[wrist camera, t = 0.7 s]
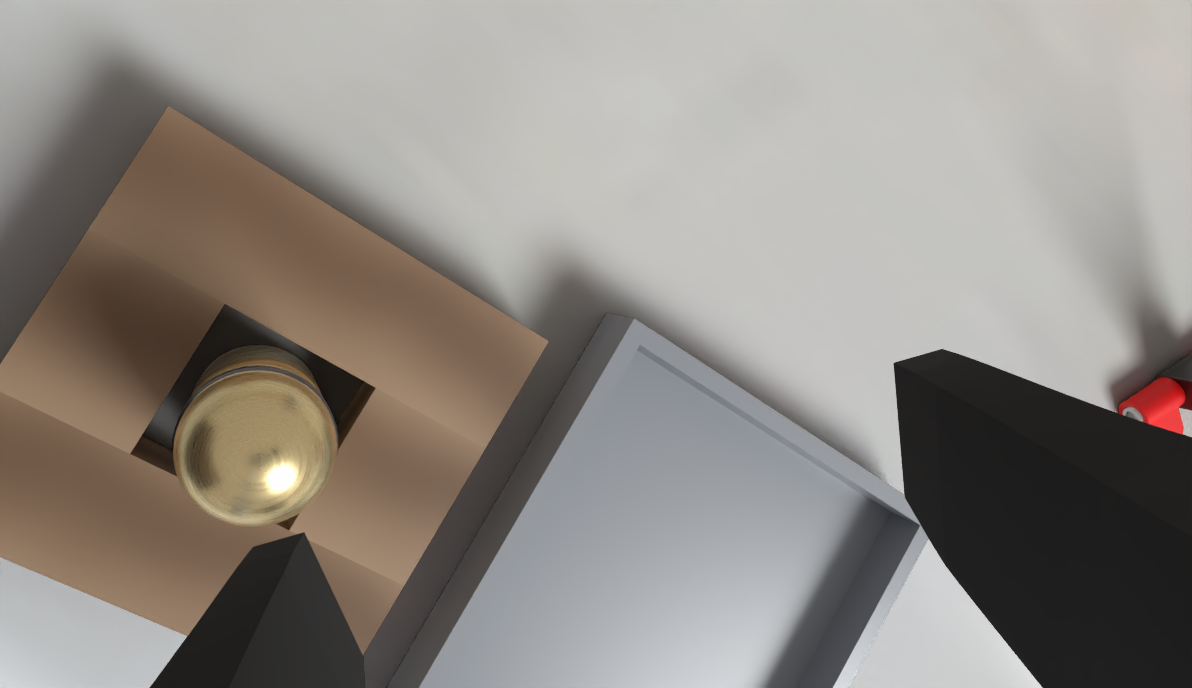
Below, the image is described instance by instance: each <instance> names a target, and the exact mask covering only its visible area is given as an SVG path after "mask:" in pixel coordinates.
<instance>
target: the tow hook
mask: <svg viewBox="0 0 1192 688" xmlns="http://www.w3.org/2000/svg"><path fill="white" fill-rule="evenodd" d="M1179 408H1183V409H1188V410H1192V354H1189V355H1188V356H1186V357H1185V358H1184V359H1182V360H1181V361H1179V362H1178V363H1176V364H1175V365H1173V366H1172V367H1170V368H1169V369H1167V370H1166V371H1164V372H1163V373H1161V374H1160V375H1158V376H1157V377H1156V379H1155V381H1154V382H1152V383H1151V384H1149V385H1148V386H1146V387H1145V388H1144V389H1142V390H1141V391H1139V392H1138V393H1136V394H1135V395H1133V396H1132V397H1130V398H1129V399H1127V400H1126V401H1124V402H1123V403H1121V404H1120V405H1119V408H1118V411H1119V414H1121V415H1124V416H1127V417H1130V418H1133V419H1136V420H1139V421H1142V422H1145V423H1147V424H1151V425H1154V426H1157V427H1160V428H1163V429H1167V430H1170V431H1173V432H1176V433H1179V434H1183V423H1182V420H1181V416H1180V412H1179Z"/></svg>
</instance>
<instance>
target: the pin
mask: <svg viewBox="0 0 1192 688" xmlns="http://www.w3.org/2000/svg"><path fill="white" fill-rule="evenodd" d="M337 453H338V432H337V427H336V423H335V420H334V417H333V414H332V412H331V410H330V408H329V406H328V404H327V402H326V401H325V399H324V398H323V396H322V394H321V391H320V389H319V387H318V384H317V382H316V380H315V378H314V376H313V374H312V373H311V371H310V370H309V368H308V367H307V366H306V365H305V364H304V363H303V362H302V361H301V360H300V359H298V358H297V357H296V356H294V355H293V354H291V353H289V352H287V351H285V350H283V349H280V348H277V347H273V346H268V345H248V346H243V347H239V348H236V349H233V350H231V351H228V352H226V353H224V354H223V355H221V356H220V357H218V358H217V359H216V360H214V361H213V362H212V363H211V364H210V365H209V366H208V367H207V368H206V369H205V371H204V372H203V373H202V375H201V376H200V378H199V380H198V382H197V384H196V386H195V389H194V391H193V393H192V395H191V397H190V399H189V400H188V402H187V403H186V405H185V406H184V408H183V410H182V412H181V414H180V416H179V418H178V421H177V424H176V426H175V430H174V435H173V442H172V454H173V462H174V466H175V470H176V474H177V477H178V479H179V482H180V484H181V486H182V487H183V489H184V491H185V492H186V494H187V495H188V496H189V498H190V499H191V500H192V501H193V502H194V503H195V504H196V505H197V506H198V507H199V508H200V509H201V510H203V511H204V512H205V513H207V514H208V515H210V516H212V517H214V518H216V519H218V520H220V521H223V522H225V523H229V524H233V525H237V526H245V527H259V526H268V525H272V524H276V523H279V522H282V521H285V520H287V519H289V518H291V517H293V516H295V515H297V514H299V513H300V512H302V511H303V510H304V509H306V508H307V507H308V506H309V505H310V504H312V503H313V502H314V501H315V499H316V498H317V497H318V496H319V495H320V494H321V492H322V491H323V489H324V488H325V487H326V485H327V483H328V481H329V479H330V477H331V475H332V472H333V470H334V467H335V462H336V458H337Z"/></svg>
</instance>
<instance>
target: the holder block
mask: <svg viewBox="0 0 1192 688" xmlns="http://www.w3.org/2000/svg"><path fill="white" fill-rule="evenodd" d="M224 304H226V305H228V306H230V307H232V308H233V309H235V310H237V311H239V312H241V313H242V314H244V315H246V316H248V317H250V318H251V319H253V320H255V321H257V322H259V323H260V324H262V325H264V326H266V327H267V328H269V329H271V330H273V331H275V332H276V333H278V334H280V335H282V336H284V337H285V338H287V339H289V340H291V341H293V342H294V343H296V344H298V345H300V346H302V347H303V348H305V349H307V350H309V351H311V352H312V353H314V354H316V355H318V356H320V357H321V358H323V359H325V360H327V361H329V362H330V363H332V364H334V365H336V366H338V367H339V368H341V369H343V370H345V371H347V372H348V373H350V374H352V375H354V376H356V377H357V378H359V379H361V380H363V383H362V385H361V386H360V388H359V390H358V391H357V393H356V394H355V396H354V398H353V399H352V401H351V403H350V404H349V406H348V408H347V409H346V411H345V413H344V414H343V416H342V417H341V419H340V421H339V422H338V424H337V426H336V427H337V432H338V453H337V458H336V462H335V467H334V470H333V472H332V475H331V477H330V479H329V481H328V483H327V485H326V487H325V488H324V489H323V491H322V492H321V494H320V495H319V496H318V497H317V498H316V499H315V501H314V502H313V503H312V504H310V505H309V506H308V507H307V508H306V509H304V510H303V511H302V512H300V513H299V514H297V515H295V516H293V517H291V518H289V519H287V520H285V521H282V522H279V523H276V524H272V525H268V526H259V527H245V526H237V525H233V524H229V523H225V522H223V521H220V520H218V519H216V518H214V517H212V516H210V515H208V514H207V513H205V512H204V511H203V510H201V509H200V508H199V507H198V506H197V505H196V504H195V503H194V502H193V501H192V500H191V499H190V498H189V496H188V495H187V494H186V492H185V491H184V489H183V487H182V486H181V484H180V482H179V479H178V477H177V474H176V470H175V466H174V462H173V454H172V451H171V450H169V449H167V448H165V447H163V446H161V445H159V444H157V443H155V442H153V441H151V440H149V439H147V438H144V437H142V434H143V433H144V431H145V429H146V428H147V426H148V425H149V423H150V422H151V420H152V418H153V417H154V415H155V414H156V412H157V410H158V409H159V407H160V406H161V404H162V402H163V401H164V399H165V398H166V396H167V395H168V393H169V391H170V390H171V388H172V387H173V385H174V383H175V382H176V380H177V379H178V377H179V376H180V374H181V372H182V371H183V369H184V368H185V366H186V364H187V363H188V361H189V360H190V358H191V357H192V355H193V353H194V352H195V350H196V349H197V347H198V345H199V344H200V342H201V341H202V339H203V338H204V336H205V334H206V333H207V331H208V330H209V328H210V326H211V325H212V323H213V322H214V320H215V318H216V317H217V315H218V314H219V312H220V311H221V309H222V307H223V306H224ZM548 342H549V341H548V340H546V339H544V338H543V337H541V336H539V335H538V334H536V333H535V332H533V331H531V330H530V329H528V328H527V327H525V326H523V325H522V324H520V323H518V322H517V321H515V320H514V319H512V318H510V317H509V316H507V315H506V314H504V313H502V312H501V311H499V310H497V309H496V308H494V307H493V306H491V305H489V304H488V303H486V302H485V301H483V300H481V299H480V298H478V297H476V296H475V295H473V294H472V293H470V292H468V291H467V290H465V289H464V288H462V287H460V286H459V285H457V284H455V283H454V282H452V281H451V280H449V279H447V278H446V277H444V276H443V275H441V274H439V273H438V272H436V271H434V270H433V269H431V268H430V267H428V266H426V265H425V264H423V263H422V262H420V261H418V260H417V259H415V258H413V257H412V256H410V255H409V254H407V253H405V252H404V251H402V250H401V249H399V248H397V247H396V246H394V245H392V244H391V243H389V242H388V241H386V240H384V239H383V238H381V237H380V236H378V235H376V234H375V233H373V232H371V231H370V230H368V229H367V228H365V227H363V226H362V225H360V224H359V223H357V222H355V221H354V220H352V219H350V218H349V217H347V216H346V215H344V214H342V213H341V212H339V211H338V210H336V209H334V208H333V207H331V206H329V205H328V204H326V203H325V202H323V201H321V200H320V199H318V198H317V197H315V196H313V195H312V194H310V193H308V192H307V191H305V190H304V189H302V188H300V187H299V186H297V185H296V184H294V183H292V182H291V181H289V180H287V179H286V178H284V177H283V176H281V175H279V174H278V173H276V172H275V171H273V170H271V169H270V168H268V167H266V166H265V165H263V164H262V163H260V162H258V161H257V160H255V159H254V158H252V157H250V156H249V155H247V154H245V153H244V152H242V151H241V150H239V149H237V148H236V147H234V146H233V145H231V144H229V143H228V142H226V141H224V140H223V139H221V138H220V137H218V136H216V135H215V134H213V133H212V132H210V131H208V130H207V129H205V128H203V127H202V126H200V125H199V124H197V123H195V122H194V121H192V120H191V119H189V118H187V117H186V116H184V115H182V114H181V113H179V112H178V111H176V110H174V109H173V108H171V107H170V106H168V108H167V109H166V111H165V112H164V114H163V115H162V117H161V118H160V120H159V121H158V123H157V124H156V126H155V128H154V129H153V131H152V132H151V134H150V135H149V137H148V138H147V140H146V141H145V143H144V144H143V146H142V147H141V149H140V151H139V152H138V154H137V155H136V157H135V158H134V160H133V161H132V163H131V164H130V166H129V167H128V169H127V171H126V172H125V174H124V175H123V177H122V178H121V180H120V181H119V183H118V184H117V186H116V187H115V189H114V190H113V192H112V194H111V195H110V197H109V198H108V200H107V201H106V203H105V204H104V206H103V207H102V209H101V210H100V212H99V213H98V215H97V217H96V218H95V220H94V221H93V223H92V224H91V226H90V227H89V229H88V230H87V232H86V233H85V235H84V236H83V238H82V240H81V241H80V243H79V244H78V246H77V247H76V249H75V250H74V252H73V253H72V255H71V256H70V258H69V259H68V261H67V263H66V264H65V266H64V267H63V269H62V270H61V272H60V273H59V275H58V276H57V278H56V279H55V281H54V283H53V284H52V286H51V287H50V289H49V290H48V292H47V293H46V295H45V296H44V298H43V299H42V301H41V302H40V304H39V306H38V307H37V309H36V310H35V312H34V313H33V315H32V316H31V318H30V319H29V321H28V322H27V324H26V325H25V327H24V329H23V330H22V332H21V333H20V335H19V336H18V338H17V339H16V341H15V342H14V344H13V345H12V347H11V348H10V350H9V352H8V353H7V355H6V356H5V358H4V359H3V361H2V362H1V364H0V557H1V558H4V559H6V560H9V561H11V562H13V563H16V564H18V565H20V566H23V567H25V568H28V569H30V570H32V571H35V572H37V573H39V574H42V575H44V576H46V577H49V578H51V579H54V580H56V581H58V582H61V583H63V584H65V585H68V586H70V587H73V588H75V589H77V590H80V591H82V592H84V593H87V594H89V595H91V596H94V597H96V598H99V599H101V600H103V601H106V602H108V603H110V604H113V605H115V606H118V607H120V608H122V609H125V610H127V611H129V612H132V613H134V614H137V615H139V616H141V617H144V618H146V619H148V620H151V621H153V622H155V623H158V624H160V625H163V626H165V627H167V628H170V629H172V630H174V631H177V632H179V633H182V634H184V635H186V636H188V635H189V634H190V632H191V631H192V629H193V628H194V627H195V625H196V624H197V623H198V621H199V620H200V618H201V617H202V616H203V614H204V613H205V611H206V610H207V609H208V607H209V606H210V604H211V603H212V602H213V600H214V599H215V597H216V596H217V594H218V593H219V592H220V590H221V589H222V587H223V586H224V585H225V583H226V582H227V580H228V579H229V578H230V576H231V575H232V574H233V572H234V571H235V569H236V568H237V567H238V565H239V564H240V563H241V561H242V560H243V559H244V558H245V556H246V555H247V554H248V553H249V551H250V550H251V549H252V548H253V547H254V546H257V545H261V544H264V543H268V542H271V541H275V540H278V539H282V538H285V537H289V536H292V535H296V534H299V533H303V532H305V534H306V536H307V539H308V541H309V543H310V545H311V547H312V549H313V551H314V553H315V555H316V558H317V560H318V562H319V564H320V566H321V568H322V570H323V572H324V574H325V577H326V579H327V581H328V583H329V585H330V587H331V589H332V591H333V593H334V596H335V598H336V600H337V602H338V604H339V606H340V608H341V610H342V612H343V615H344V617H345V619H346V621H347V623H348V625H349V627H350V629H351V631H352V634H353V636H354V638H355V640H356V642H357V644H358V646H359V648H360V650H361V652H362V655H364V653H365V651H366V649H367V648H368V646H369V644H370V643H371V641H372V639H373V638H374V636H375V634H376V633H377V631H378V629H379V628H380V626H381V624H382V622H383V621H384V619H385V617H386V616H387V614H388V612H389V611H390V609H391V607H392V606H393V604H394V602H395V600H396V599H397V597H398V595H399V594H400V592H401V590H402V589H403V587H404V585H405V584H406V582H407V580H408V579H409V577H410V575H411V573H412V572H413V570H414V568H415V567H416V565H417V563H418V562H419V560H420V558H421V557H422V555H423V553H424V551H425V550H426V548H427V546H428V545H429V543H430V541H431V540H432V538H433V536H434V535H435V533H436V531H437V530H438V528H439V526H440V524H441V523H442V521H443V519H444V518H445V516H446V514H447V513H448V511H449V509H450V508H451V506H452V504H453V502H454V501H455V499H456V497H457V496H458V494H459V492H460V491H461V489H462V487H463V486H464V484H465V482H466V480H467V479H468V477H469V475H470V474H471V472H472V470H473V469H474V467H475V465H476V464H477V462H478V460H479V459H480V457H481V455H482V453H483V452H484V450H485V448H486V447H487V445H488V443H489V442H490V440H491V438H492V437H493V435H494V433H495V431H496V430H497V428H498V426H499V425H500V423H501V421H502V420H503V418H504V416H505V415H506V413H507V411H508V410H509V408H510V406H511V404H512V403H513V401H514V399H515V398H516V396H517V394H518V393H519V391H520V389H521V388H522V386H523V384H524V382H525V381H526V379H527V377H528V376H529V374H530V372H531V371H532V369H533V367H534V366H535V364H536V362H537V361H538V359H539V357H540V355H541V354H542V352H543V350H544V349H545V347H546V345H547V344H548Z"/></svg>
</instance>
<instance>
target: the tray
mask: <svg viewBox="0 0 1192 688" xmlns="http://www.w3.org/2000/svg"><path fill="white" fill-rule="evenodd" d="M928 539H929V538H928V537H927V535H926V533H925V532H924V530H923V528H922V526H921V525H920V523H919V521H918V519H917V518H916V516H915V514H914V513H913V511H912V509H911V507H910V506H909V504H908V502H907V501H906V499H905V495H904V494H902V493H901V492H899V491H898V490H896V489H895V488H893V487H892V486H890V485H889V484H887V483H886V482H884V481H883V480H881V479H879V478H878V477H876V476H875V475H873V474H872V473H870V472H869V471H867V470H866V469H864V468H863V467H861V466H860V465H858V464H857V463H855V462H853V461H852V460H850V459H849V458H847V457H846V456H844V455H843V454H841V453H840V452H838V451H837V450H835V449H834V448H832V447H831V446H829V445H827V444H826V443H824V442H823V441H821V440H820V439H818V438H817V437H815V436H814V435H812V434H811V433H809V432H808V431H806V430H805V429H803V428H801V427H800V426H798V425H797V424H795V423H794V422H792V421H791V420H789V419H788V418H786V417H785V416H783V415H782V414H780V413H779V412H777V411H775V410H774V409H772V408H771V407H769V406H768V405H766V404H765V403H763V402H762V401H760V400H759V399H757V398H756V397H754V396H753V395H751V394H749V393H748V392H746V391H745V390H743V389H742V388H740V387H739V386H737V385H736V384H734V383H733V382H731V381H730V380H728V379H727V378H725V377H723V376H722V375H720V374H719V373H717V372H716V371H714V370H713V369H711V368H710V367H708V366H707V365H705V364H704V363H702V362H701V361H699V360H697V359H696V358H694V357H693V356H691V355H690V354H688V353H687V352H685V351H684V350H682V349H681V348H679V347H678V346H676V345H675V344H673V343H671V342H670V341H668V340H667V339H665V338H664V337H662V336H661V335H659V334H658V333H656V332H655V331H653V330H652V329H650V328H649V327H647V326H645V325H644V324H642V323H641V322H639V321H638V320H636V319H635V318H630V317H625V316H620V315H615V314H610V313H606V315H605V316H604V318H603V320H602V321H601V323H600V325H599V327H598V328H597V330H596V332H595V333H594V335H593V337H592V338H591V340H590V342H589V344H588V345H587V347H586V349H585V350H584V352H583V354H582V355H581V357H580V359H579V361H578V362H577V364H576V366H575V367H574V369H573V371H572V372H571V374H570V376H569V378H568V379H567V381H566V383H565V384H564V386H563V388H562V390H561V391H560V393H559V395H558V396H557V398H556V400H555V401H554V403H553V405H552V407H551V408H550V410H549V412H548V413H547V415H546V417H545V418H544V420H543V422H542V424H541V425H540V427H539V429H538V430H537V432H536V434H535V436H534V437H533V439H532V441H531V442H530V444H529V446H528V447H527V449H526V451H525V453H524V454H523V456H522V458H521V459H520V461H519V463H518V464H517V466H516V468H515V470H514V471H513V473H512V475H511V476H510V478H509V480H508V481H507V483H506V485H505V487H504V488H503V490H502V492H501V493H500V495H499V497H498V499H497V500H496V502H495V504H494V505H493V507H492V509H491V510H490V512H489V514H488V516H487V517H486V519H485V521H484V522H483V524H482V526H481V527H480V529H479V531H478V533H477V534H476V536H475V538H474V539H473V541H472V543H471V545H470V546H469V548H468V550H467V551H466V553H465V555H464V556H463V558H462V560H461V562H460V563H459V565H458V567H457V568H456V570H455V572H454V573H453V575H452V577H451V579H450V580H449V582H448V584H447V585H446V587H445V589H444V590H443V592H442V594H441V596H440V597H439V599H438V601H437V602H436V604H435V606H434V608H433V609H432V611H431V613H430V614H429V616H428V618H427V619H426V621H425V623H424V625H423V626H422V628H421V630H420V631H419V633H418V635H417V636H416V638H415V640H414V642H413V643H412V645H411V647H410V648H409V650H408V652H407V654H406V655H405V657H404V659H403V660H402V662H401V664H400V665H399V667H398V669H397V671H396V672H395V674H394V676H393V677H392V679H391V681H390V682H389V684H388V686H387V688H849V686H850V684H851V682H852V680H853V678H854V677H855V675H856V673H857V671H858V669H859V667H860V665H861V664H862V662H863V660H864V658H865V656H866V654H867V652H868V651H869V649H870V647H871V645H872V643H873V641H874V639H875V637H876V636H877V634H878V632H879V630H880V628H881V626H882V624H883V623H884V621H885V619H886V617H887V615H888V613H889V611H890V610H891V608H892V606H893V604H894V602H895V600H896V598H897V597H898V595H899V593H900V591H901V589H902V587H903V585H904V583H905V582H906V580H907V578H908V576H909V574H910V572H911V570H912V569H913V567H914V565H915V563H916V561H917V559H918V557H919V556H920V554H921V552H922V550H923V548H924V546H925V544H926V543H927V541H928Z"/></svg>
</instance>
